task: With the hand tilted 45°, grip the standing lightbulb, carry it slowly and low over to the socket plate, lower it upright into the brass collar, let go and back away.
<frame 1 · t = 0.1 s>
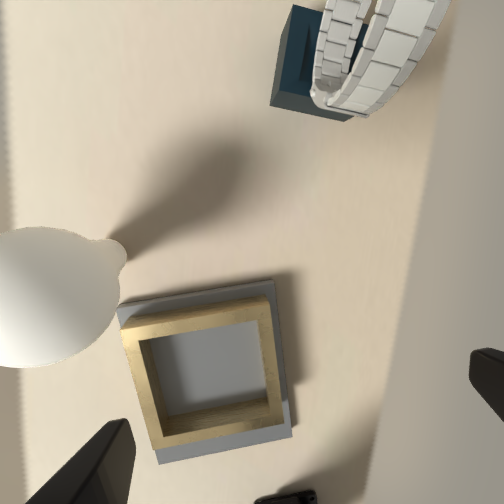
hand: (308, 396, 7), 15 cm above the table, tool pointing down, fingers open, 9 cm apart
socket plate: (210, 357, 23), on the table
watch: (312, 79, 19), on the table
lightbulb: (114, 252, 20), on the table
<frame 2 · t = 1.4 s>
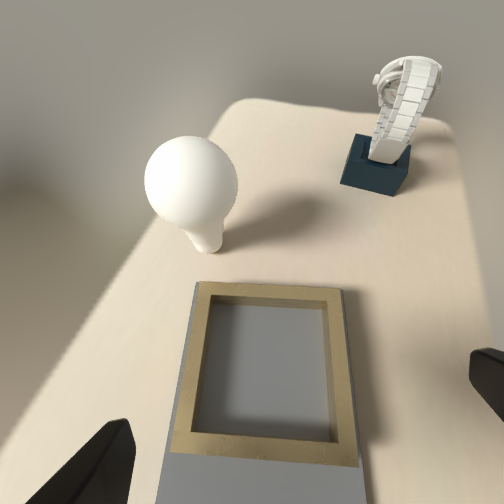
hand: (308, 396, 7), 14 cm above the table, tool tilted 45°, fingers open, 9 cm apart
socket plate: (265, 365, 20), on the table
watch: (368, 176, 30), on the table
lightbulb: (210, 247, 25), on the table
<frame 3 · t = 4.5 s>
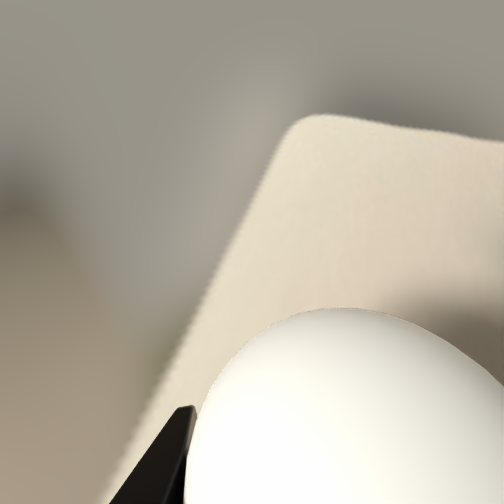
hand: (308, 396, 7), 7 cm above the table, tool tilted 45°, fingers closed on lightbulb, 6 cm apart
lightbulb: (292, 441, 12), on the table, touching gripper
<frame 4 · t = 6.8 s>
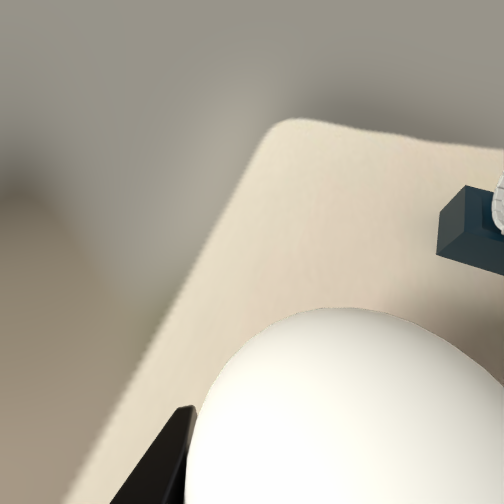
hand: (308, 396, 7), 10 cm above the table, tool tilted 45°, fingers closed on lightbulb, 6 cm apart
watch: (473, 243, 21), on the table
lightbulb: (291, 438, 12), point 3 cm above the table, touching gripper
when the fingers open (8 cm above the table, at t = 9.3 s): lightbulb stays where it is, resting on socket plate.
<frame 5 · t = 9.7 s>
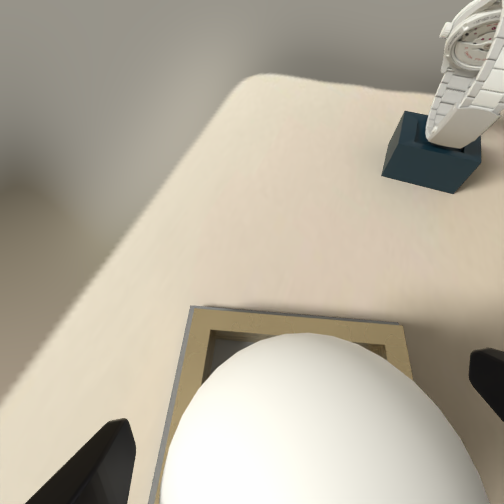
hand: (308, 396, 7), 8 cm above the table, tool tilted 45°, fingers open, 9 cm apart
socket plate: (288, 437, 13), on the table
watch: (417, 168, 23), on the table
lightbulb: (286, 440, 13), point 1 cm above the table, touching socket plate
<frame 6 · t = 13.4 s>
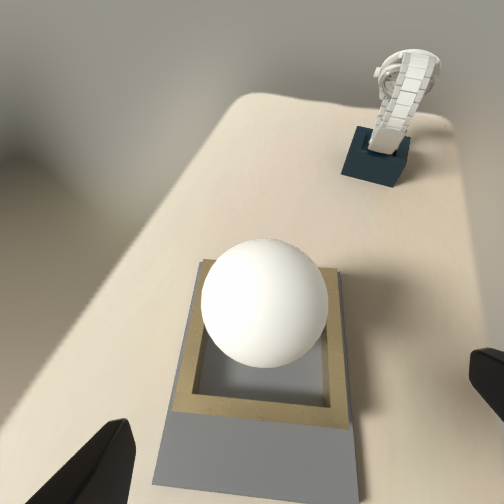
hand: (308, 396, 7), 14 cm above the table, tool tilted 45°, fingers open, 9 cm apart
socket plate: (263, 340, 21), on the table
watch: (368, 168, 31), on the table
lightbulb: (261, 339, 20), point 1 cm above the table, touching socket plate
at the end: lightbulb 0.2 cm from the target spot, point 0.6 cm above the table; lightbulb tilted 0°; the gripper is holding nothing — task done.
